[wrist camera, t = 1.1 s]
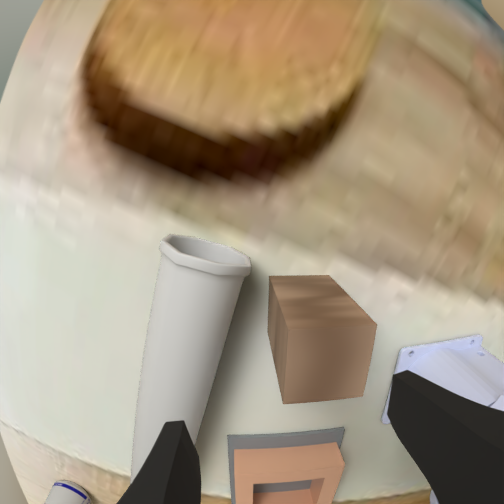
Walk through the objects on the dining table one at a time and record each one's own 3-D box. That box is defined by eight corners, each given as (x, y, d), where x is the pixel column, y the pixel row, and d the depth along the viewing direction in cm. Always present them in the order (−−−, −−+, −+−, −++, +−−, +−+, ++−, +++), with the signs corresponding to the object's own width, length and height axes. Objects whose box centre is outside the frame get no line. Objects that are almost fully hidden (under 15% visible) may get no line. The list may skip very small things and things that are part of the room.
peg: (328, 275, 21) (377, 324, 13) (324, 329, 22) (362, 396, 14) (269, 275, 21) (288, 329, 13) (267, 331, 21) (283, 404, 14)
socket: (343, 427, 24) (354, 453, 20) (323, 497, 26) (329, 519, 23) (227, 434, 23) (227, 463, 20) (231, 504, 26) (232, 527, 22)
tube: (187, 515, 21) (268, 272, 16) (131, 515, 19) (165, 254, 14) (175, 474, 26) (236, 245, 21) (124, 473, 24) (157, 228, 19)
